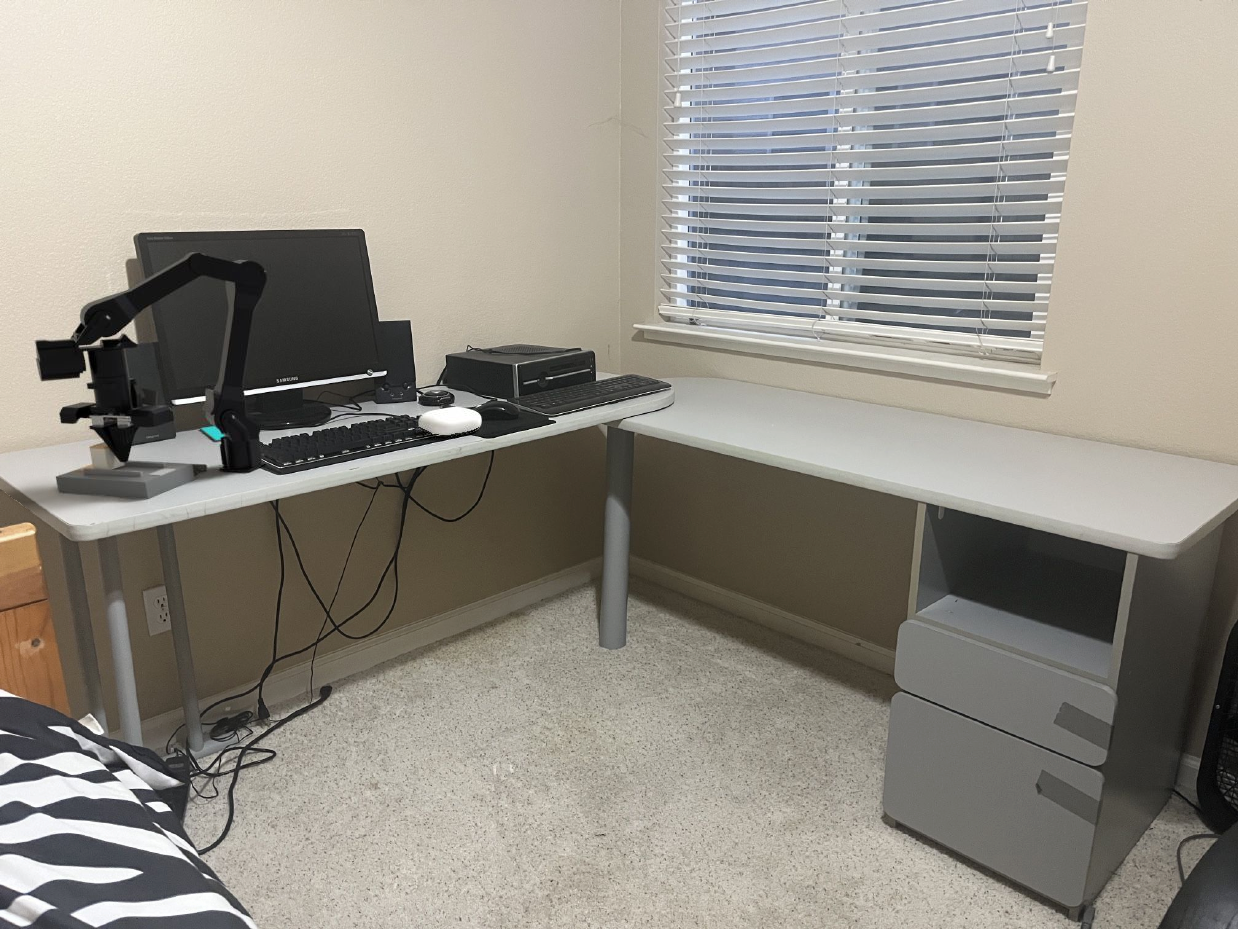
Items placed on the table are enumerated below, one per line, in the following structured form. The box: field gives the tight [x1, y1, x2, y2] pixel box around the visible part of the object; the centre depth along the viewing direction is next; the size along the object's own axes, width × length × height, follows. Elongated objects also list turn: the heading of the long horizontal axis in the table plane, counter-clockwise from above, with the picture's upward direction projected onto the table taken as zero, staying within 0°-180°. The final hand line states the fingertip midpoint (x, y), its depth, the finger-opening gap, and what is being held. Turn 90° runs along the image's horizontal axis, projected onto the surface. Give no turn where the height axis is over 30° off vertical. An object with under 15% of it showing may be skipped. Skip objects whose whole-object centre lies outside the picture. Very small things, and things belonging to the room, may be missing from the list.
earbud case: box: [418, 406, 482, 435], centre depth 195 cm, size 10×13×5 cm
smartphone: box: [199, 425, 225, 443], centre depth 196 cm, size 7×1×15 cm
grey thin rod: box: [191, 463, 208, 473], centre depth 166 cm, size 14×1×1 cm, turn 82°
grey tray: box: [55, 459, 195, 500], centre depth 156 cm, size 18×12×4 cm, turn 78°
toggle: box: [89, 441, 125, 470], centre depth 156 cm, size 3×4×4 cm
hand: (124, 461), depth 155 cm, fingers closed
